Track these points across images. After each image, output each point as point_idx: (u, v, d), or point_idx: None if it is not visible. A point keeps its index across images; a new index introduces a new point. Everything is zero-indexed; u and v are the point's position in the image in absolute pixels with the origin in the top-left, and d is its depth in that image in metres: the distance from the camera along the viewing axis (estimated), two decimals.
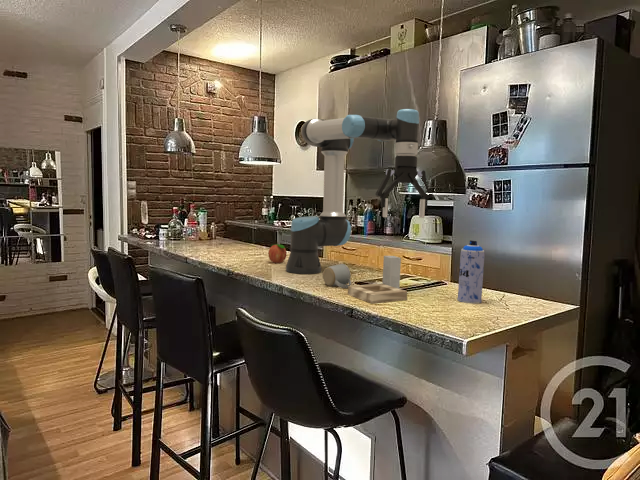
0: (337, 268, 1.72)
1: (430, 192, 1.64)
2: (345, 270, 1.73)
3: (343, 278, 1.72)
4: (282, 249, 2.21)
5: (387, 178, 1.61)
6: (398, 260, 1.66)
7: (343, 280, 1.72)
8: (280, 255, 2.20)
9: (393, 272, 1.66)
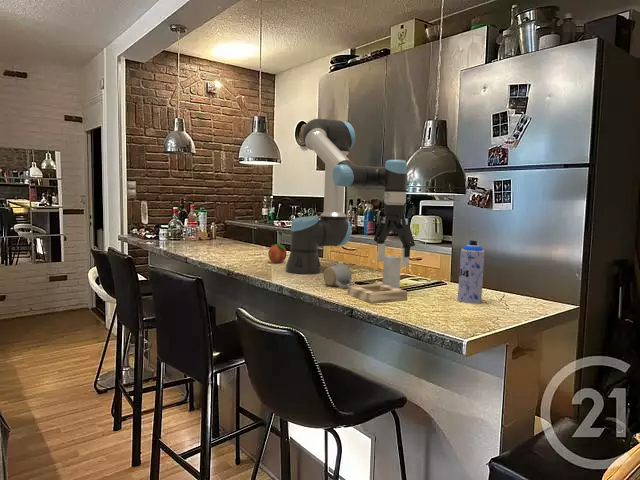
0: (338, 269, 1.72)
1: (407, 241, 1.59)
2: (345, 270, 1.73)
3: (344, 278, 1.72)
4: (282, 249, 2.21)
5: (379, 225, 1.73)
6: (398, 260, 1.66)
7: (344, 280, 1.72)
8: (280, 255, 2.20)
9: (393, 272, 1.66)
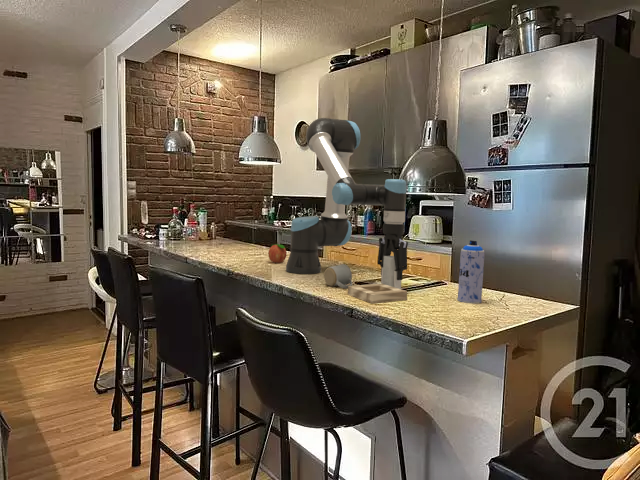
0: (338, 269, 1.71)
1: (400, 265, 1.63)
2: (346, 270, 1.72)
3: (344, 278, 1.72)
4: (282, 249, 2.21)
5: (380, 247, 1.73)
6: None
7: (344, 280, 1.72)
8: (280, 255, 2.20)
9: (393, 272, 1.66)
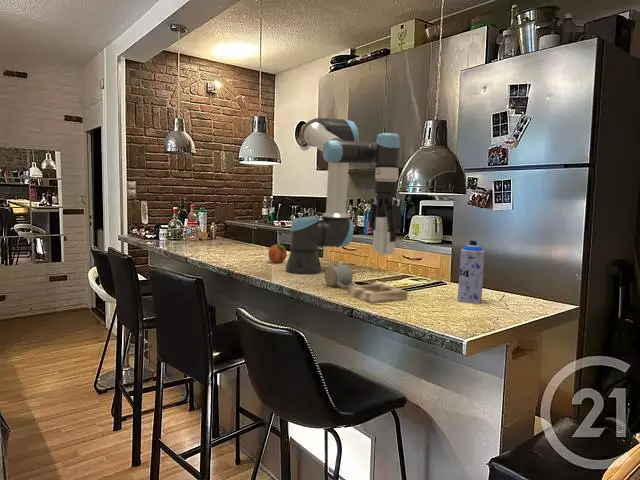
0: (339, 269, 1.71)
1: (394, 224, 1.52)
2: (347, 270, 1.72)
3: (345, 279, 1.71)
4: (282, 249, 2.21)
5: (371, 208, 1.62)
6: None
7: (345, 281, 1.72)
8: (280, 255, 2.20)
9: (386, 234, 1.55)
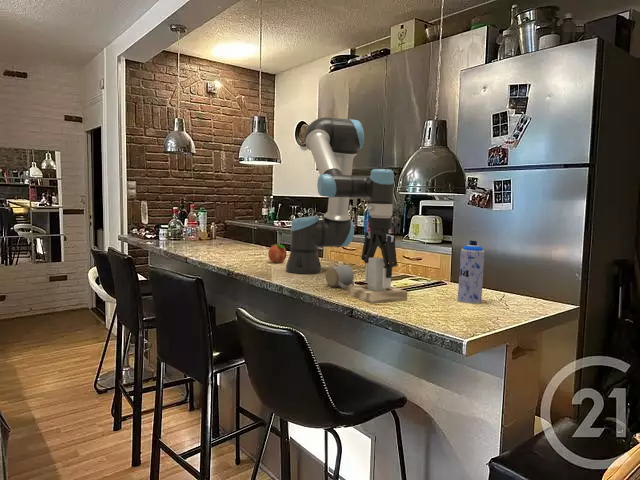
0: (340, 269, 1.70)
1: (389, 261, 1.49)
2: (348, 271, 1.72)
3: (346, 279, 1.71)
4: (282, 249, 2.21)
5: (365, 241, 1.60)
6: None
7: (346, 281, 1.71)
8: (280, 255, 2.20)
9: (380, 276, 1.54)
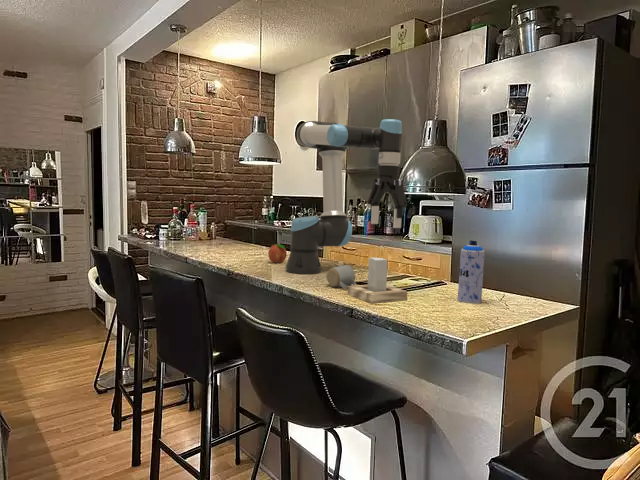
0: (341, 269, 1.70)
1: (400, 201, 1.58)
2: (349, 271, 1.71)
3: (347, 279, 1.70)
4: (282, 249, 2.21)
5: (373, 187, 1.71)
6: (384, 262, 1.54)
7: (347, 281, 1.70)
8: (280, 255, 2.20)
9: (380, 276, 1.54)
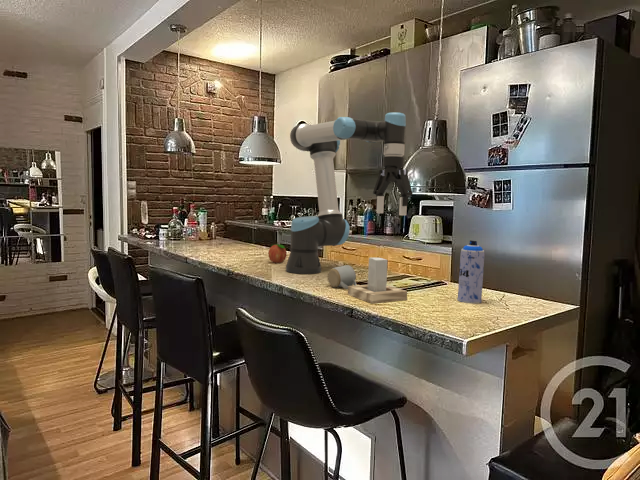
0: (342, 270, 1.70)
1: (405, 190, 1.66)
2: (350, 271, 1.71)
3: (348, 279, 1.70)
4: (282, 249, 2.21)
5: (378, 178, 1.79)
6: (384, 262, 1.54)
7: (348, 281, 1.70)
8: (280, 255, 2.20)
9: (380, 276, 1.54)
